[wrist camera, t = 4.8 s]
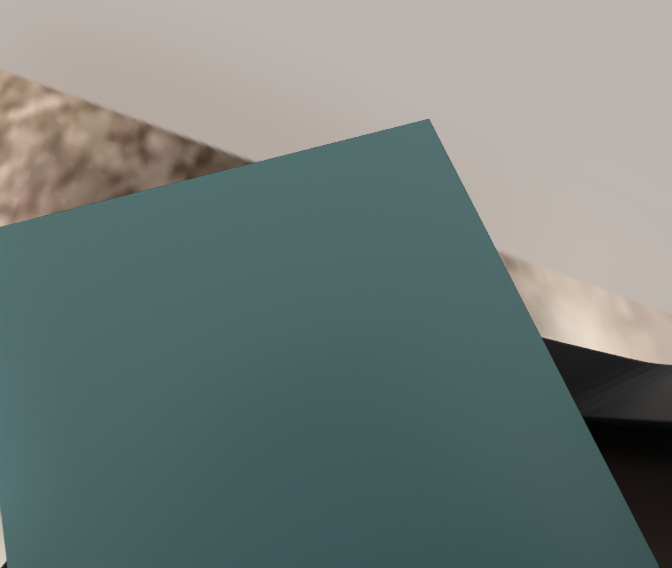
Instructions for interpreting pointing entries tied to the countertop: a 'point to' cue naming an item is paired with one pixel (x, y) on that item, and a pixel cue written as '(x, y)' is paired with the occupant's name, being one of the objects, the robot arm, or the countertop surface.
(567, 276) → the countertop surface
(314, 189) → the plug
